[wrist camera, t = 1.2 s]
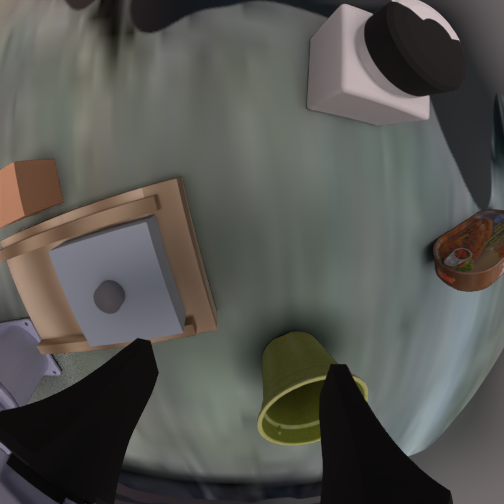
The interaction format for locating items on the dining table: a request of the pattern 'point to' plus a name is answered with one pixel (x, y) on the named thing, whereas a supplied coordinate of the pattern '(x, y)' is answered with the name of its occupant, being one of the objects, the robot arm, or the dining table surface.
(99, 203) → the puzzle board
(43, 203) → the terracotta block
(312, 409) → the plant pot
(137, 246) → the slate cover
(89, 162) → the dining table surface
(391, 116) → the medicine bottle
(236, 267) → the dining table surface
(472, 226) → the tin
